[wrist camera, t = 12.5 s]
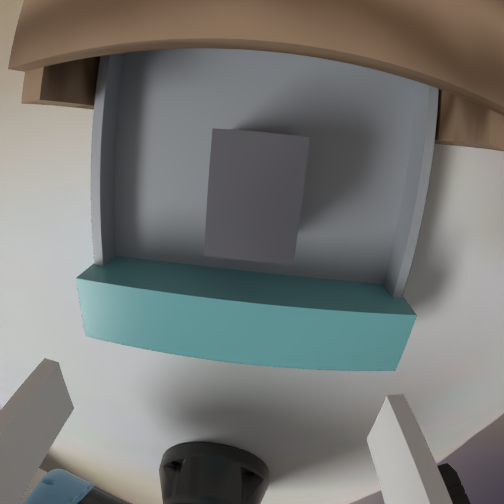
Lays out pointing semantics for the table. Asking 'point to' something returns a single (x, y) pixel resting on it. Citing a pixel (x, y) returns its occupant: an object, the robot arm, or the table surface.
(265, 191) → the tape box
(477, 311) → the table surface
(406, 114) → the drawer
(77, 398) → the table surface
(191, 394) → the table surface
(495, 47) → the wooden drawer cabinet
